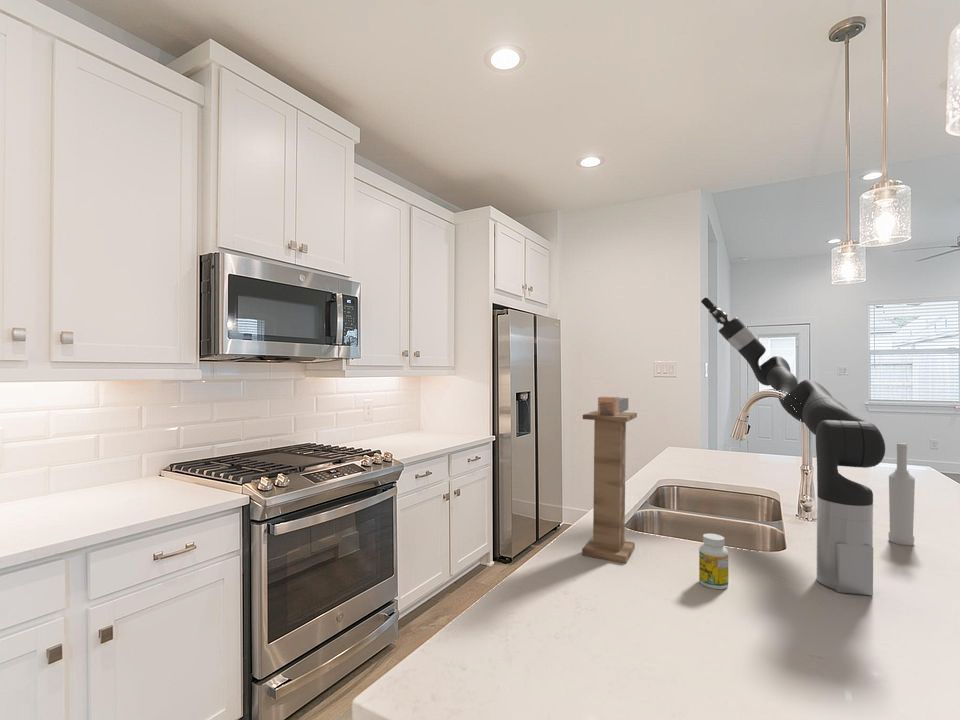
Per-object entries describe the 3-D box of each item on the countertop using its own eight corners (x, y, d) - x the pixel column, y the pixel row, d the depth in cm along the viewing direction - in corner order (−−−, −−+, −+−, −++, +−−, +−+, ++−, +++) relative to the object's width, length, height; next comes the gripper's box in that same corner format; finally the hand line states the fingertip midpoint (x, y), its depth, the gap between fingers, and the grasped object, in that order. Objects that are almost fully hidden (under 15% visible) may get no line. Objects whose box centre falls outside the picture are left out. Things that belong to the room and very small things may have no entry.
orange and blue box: (614, 409, 133) (614, 393, 133) (630, 409, 131) (630, 394, 131) (597, 414, 117) (598, 397, 117) (615, 415, 115) (615, 398, 115)
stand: (594, 540, 127) (595, 410, 127) (635, 547, 122) (636, 412, 123) (581, 556, 116) (582, 414, 116) (625, 564, 112) (627, 417, 112)
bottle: (904, 539, 131) (905, 442, 131) (920, 546, 126) (920, 445, 126) (883, 538, 131) (883, 441, 132) (897, 545, 126) (898, 445, 126)
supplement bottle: (734, 588, 101) (734, 539, 101) (712, 591, 99) (712, 542, 99) (714, 577, 106) (714, 531, 106) (693, 580, 104) (693, 533, 104)
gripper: (727, 342, 170) (693, 306, 173) (727, 339, 182) (696, 306, 186) (746, 327, 167) (712, 291, 170) (745, 326, 179) (713, 292, 183)
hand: (703, 299), depth 178 cm, fingers open, 8 cm apart
